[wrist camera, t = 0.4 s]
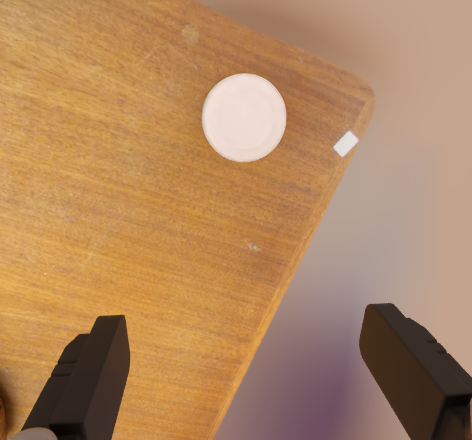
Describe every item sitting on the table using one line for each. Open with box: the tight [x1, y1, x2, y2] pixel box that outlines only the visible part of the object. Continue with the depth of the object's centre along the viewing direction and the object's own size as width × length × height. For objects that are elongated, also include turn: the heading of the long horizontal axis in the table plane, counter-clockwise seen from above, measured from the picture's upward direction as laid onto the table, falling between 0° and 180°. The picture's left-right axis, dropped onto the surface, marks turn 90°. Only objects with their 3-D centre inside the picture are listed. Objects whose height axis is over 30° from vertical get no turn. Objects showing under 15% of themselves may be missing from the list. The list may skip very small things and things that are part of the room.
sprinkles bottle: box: [202, 73, 286, 162], centre depth 23 cm, size 5×5×14 cm
